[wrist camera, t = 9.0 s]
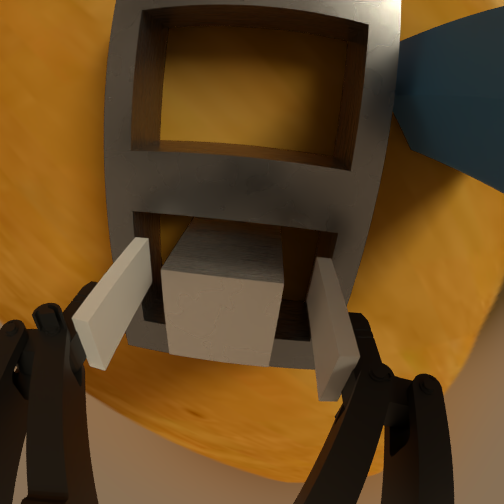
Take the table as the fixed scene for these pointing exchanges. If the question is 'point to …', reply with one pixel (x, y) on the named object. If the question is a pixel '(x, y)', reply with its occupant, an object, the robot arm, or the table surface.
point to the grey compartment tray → (247, 148)
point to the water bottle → (456, 95)
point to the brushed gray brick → (224, 291)
